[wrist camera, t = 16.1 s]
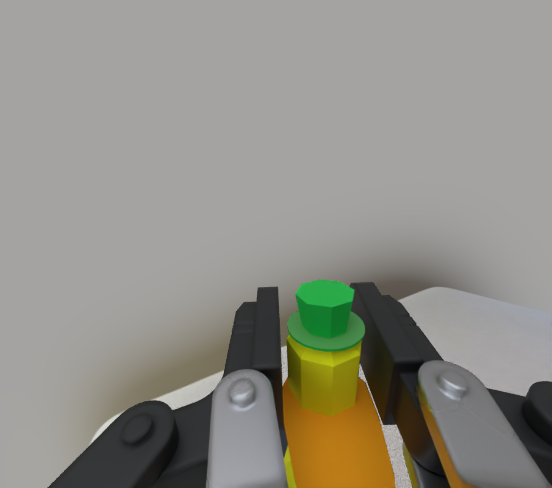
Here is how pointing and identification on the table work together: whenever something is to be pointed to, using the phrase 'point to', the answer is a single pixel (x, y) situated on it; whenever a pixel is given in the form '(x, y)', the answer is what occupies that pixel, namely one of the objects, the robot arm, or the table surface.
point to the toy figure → (330, 397)
